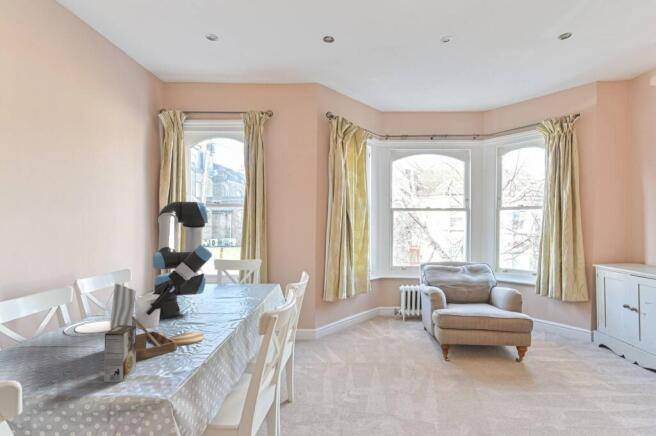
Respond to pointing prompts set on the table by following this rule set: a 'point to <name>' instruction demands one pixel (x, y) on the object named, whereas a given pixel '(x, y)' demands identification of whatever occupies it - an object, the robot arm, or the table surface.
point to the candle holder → (142, 305)
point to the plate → (92, 327)
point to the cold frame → (124, 316)
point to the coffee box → (120, 353)
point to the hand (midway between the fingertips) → (139, 317)
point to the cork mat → (188, 338)
